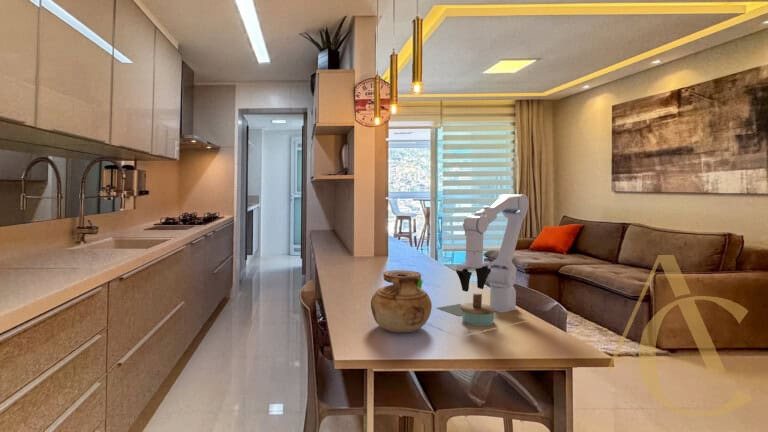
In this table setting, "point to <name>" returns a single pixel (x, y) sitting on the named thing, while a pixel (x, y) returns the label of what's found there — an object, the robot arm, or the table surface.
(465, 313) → the bowl
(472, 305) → the lid
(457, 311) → the mat
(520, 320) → the table surface
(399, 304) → the clay pot
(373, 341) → the table surface
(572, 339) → the table surface
